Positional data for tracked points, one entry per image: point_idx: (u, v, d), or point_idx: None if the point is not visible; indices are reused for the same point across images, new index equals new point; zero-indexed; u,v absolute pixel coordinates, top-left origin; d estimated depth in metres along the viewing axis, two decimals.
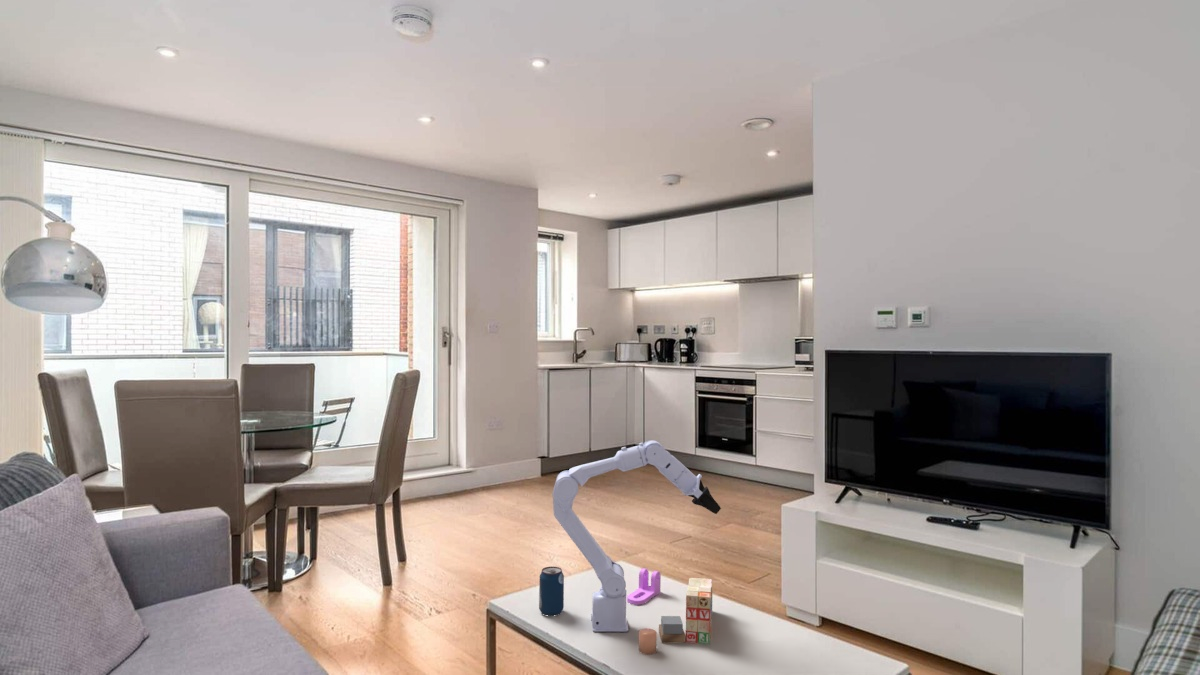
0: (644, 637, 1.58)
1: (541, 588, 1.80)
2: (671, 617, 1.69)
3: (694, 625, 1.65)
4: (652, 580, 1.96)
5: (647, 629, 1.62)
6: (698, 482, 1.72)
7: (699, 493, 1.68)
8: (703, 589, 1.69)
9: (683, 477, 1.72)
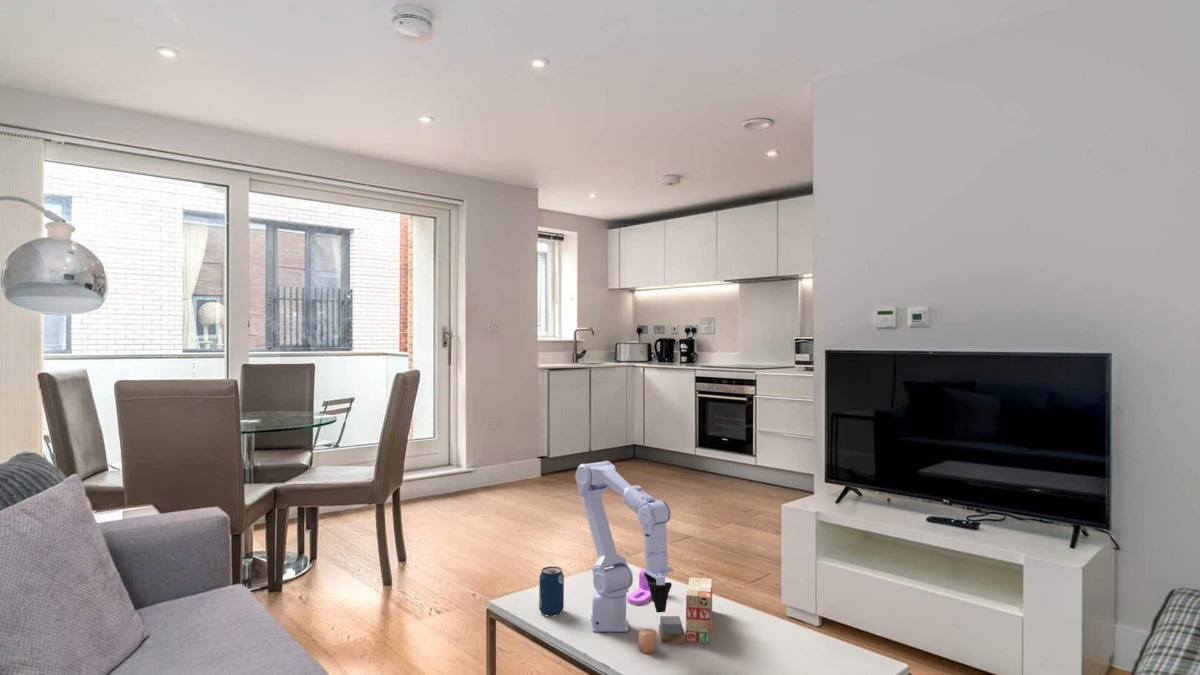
0: (644, 637, 1.58)
1: (541, 588, 1.80)
2: (670, 617, 1.69)
3: (694, 624, 1.65)
4: None
5: (647, 629, 1.62)
6: (667, 573, 1.58)
7: (662, 582, 1.53)
8: (703, 589, 1.69)
9: (659, 557, 1.58)
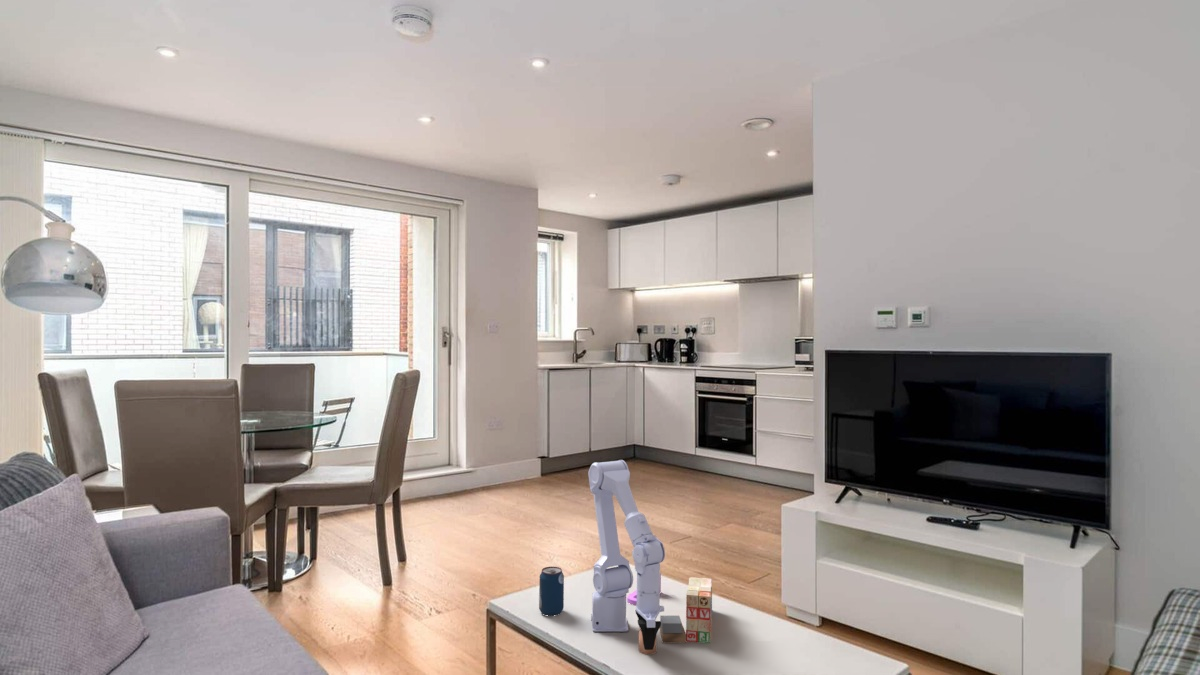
0: None
1: (541, 588, 1.80)
2: (670, 616, 1.69)
3: (694, 624, 1.65)
4: None
5: None
6: (658, 613, 1.57)
7: (652, 625, 1.53)
8: (703, 588, 1.69)
9: (651, 597, 1.58)
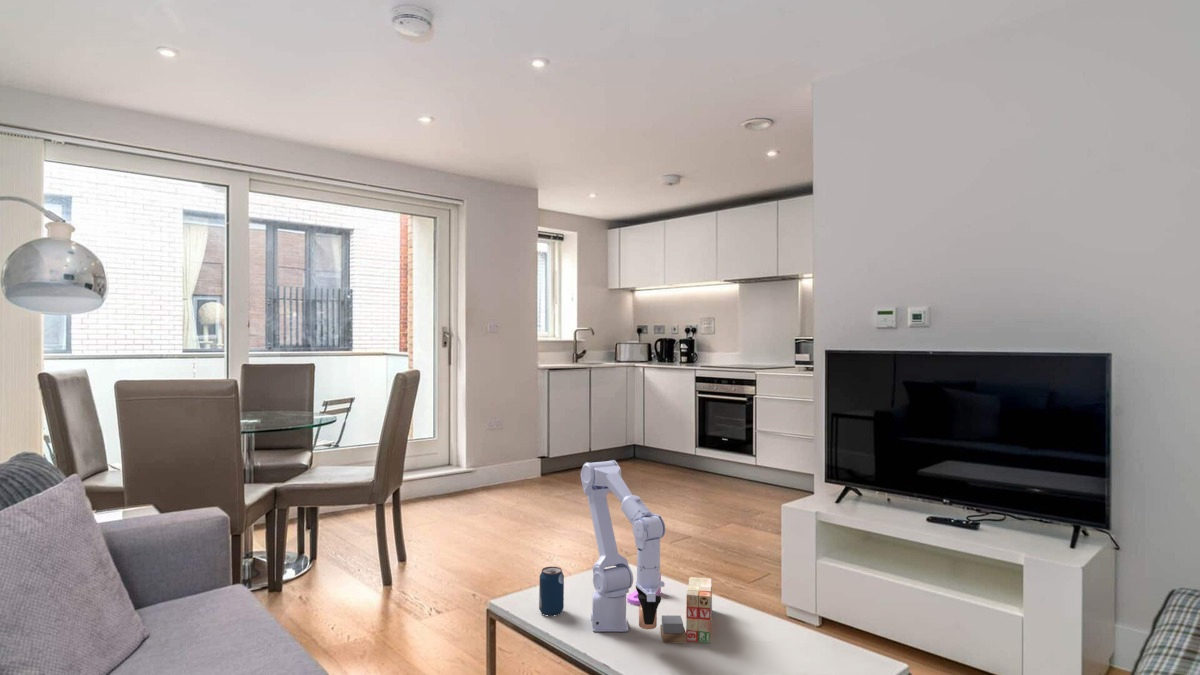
0: None
1: (541, 588, 1.80)
2: (672, 616, 1.69)
3: (694, 624, 1.65)
4: None
5: None
6: (658, 588, 1.57)
7: (652, 599, 1.53)
8: (703, 588, 1.69)
9: (651, 572, 1.58)
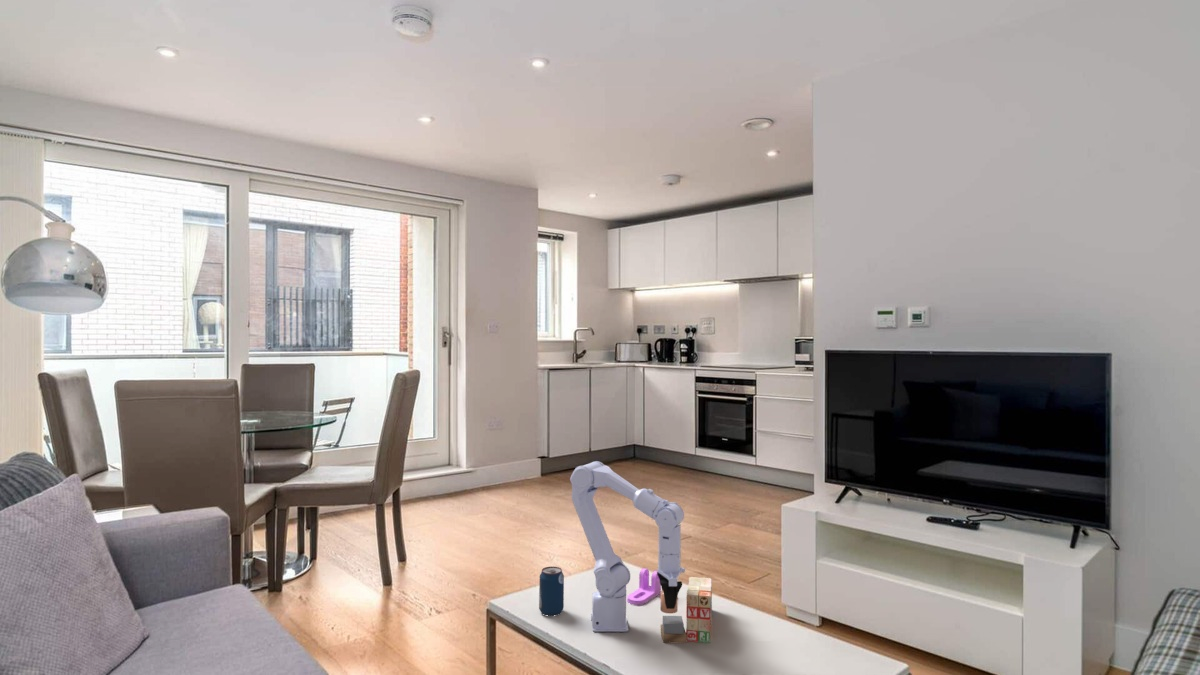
0: None
1: (541, 588, 1.80)
2: (672, 617, 1.69)
3: (695, 623, 1.65)
4: (653, 580, 1.95)
5: None
6: (679, 574, 1.64)
7: (674, 584, 1.59)
8: (704, 588, 1.69)
9: (672, 558, 1.64)
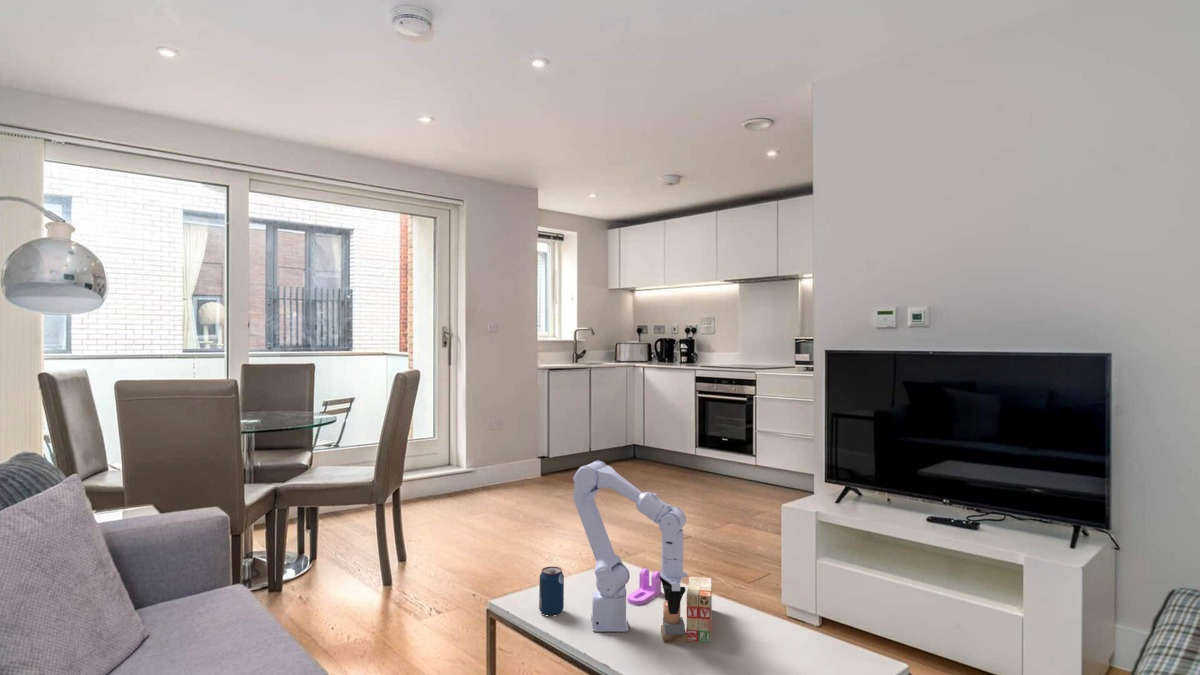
0: None
1: (541, 588, 1.80)
2: None
3: (695, 623, 1.65)
4: (653, 580, 1.95)
5: None
6: (682, 578, 1.65)
7: (677, 588, 1.60)
8: (704, 588, 1.69)
9: (675, 563, 1.65)
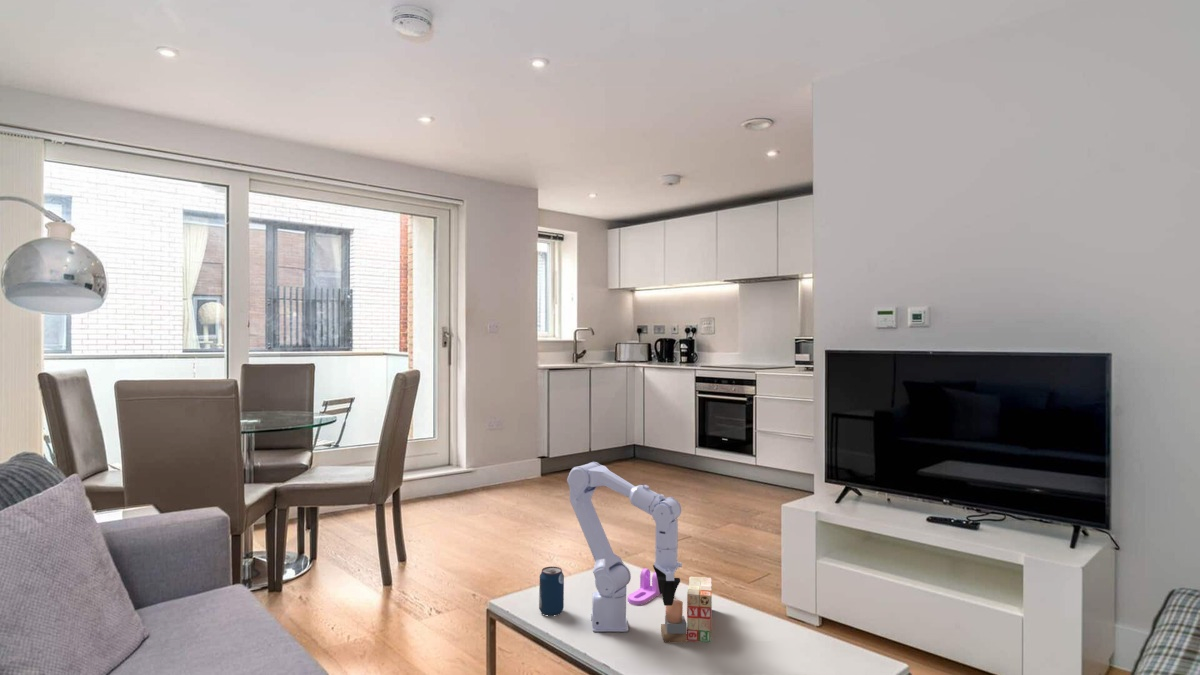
0: (671, 607, 1.66)
1: (541, 588, 1.80)
2: None
3: (695, 623, 1.65)
4: (653, 580, 1.95)
5: None
6: (676, 568, 1.64)
7: (671, 578, 1.59)
8: (704, 588, 1.70)
9: (669, 553, 1.64)
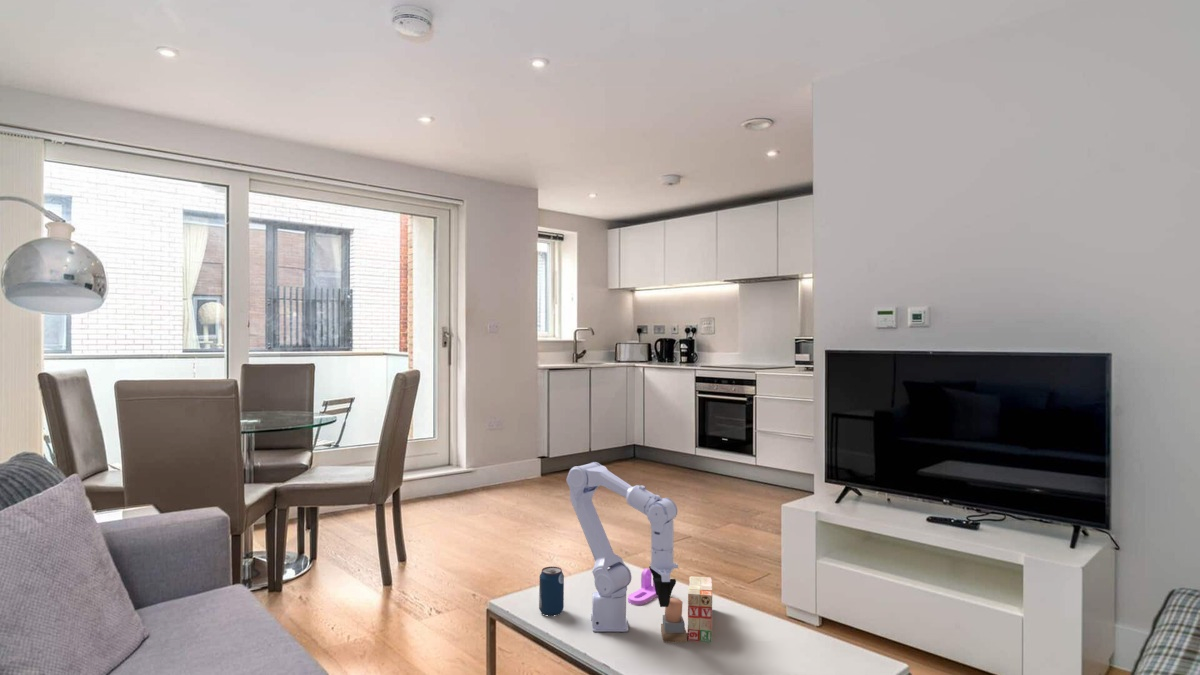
0: (671, 606, 1.65)
1: (541, 588, 1.80)
2: None
3: (696, 623, 1.66)
4: None
5: (673, 599, 1.69)
6: (672, 569, 1.62)
7: (667, 579, 1.58)
8: (705, 587, 1.70)
9: (665, 554, 1.63)
